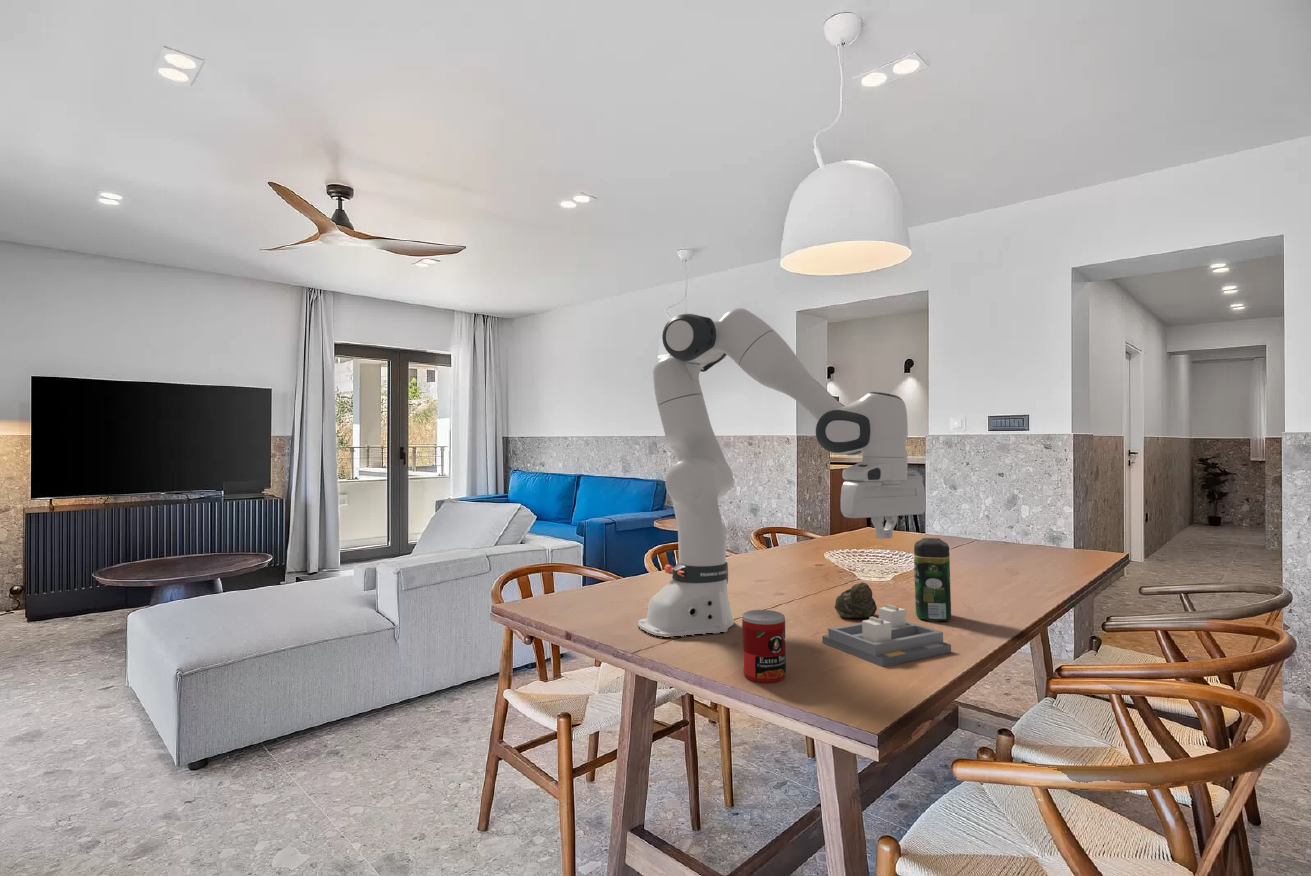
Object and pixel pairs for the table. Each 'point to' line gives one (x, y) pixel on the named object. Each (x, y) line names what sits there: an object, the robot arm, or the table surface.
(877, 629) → the tab near
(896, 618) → the tab far
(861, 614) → the dark green lumpy mound
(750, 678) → the canned food
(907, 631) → the switch bank
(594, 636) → the table surface
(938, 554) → the coffee jar
